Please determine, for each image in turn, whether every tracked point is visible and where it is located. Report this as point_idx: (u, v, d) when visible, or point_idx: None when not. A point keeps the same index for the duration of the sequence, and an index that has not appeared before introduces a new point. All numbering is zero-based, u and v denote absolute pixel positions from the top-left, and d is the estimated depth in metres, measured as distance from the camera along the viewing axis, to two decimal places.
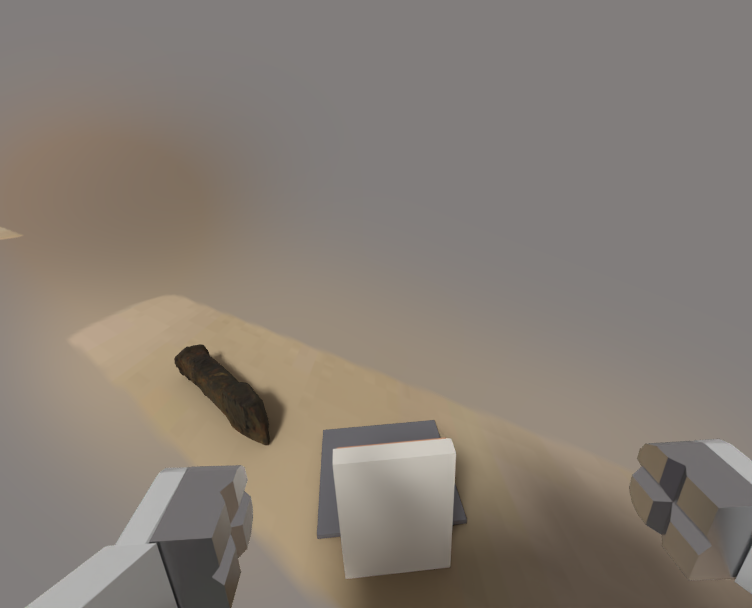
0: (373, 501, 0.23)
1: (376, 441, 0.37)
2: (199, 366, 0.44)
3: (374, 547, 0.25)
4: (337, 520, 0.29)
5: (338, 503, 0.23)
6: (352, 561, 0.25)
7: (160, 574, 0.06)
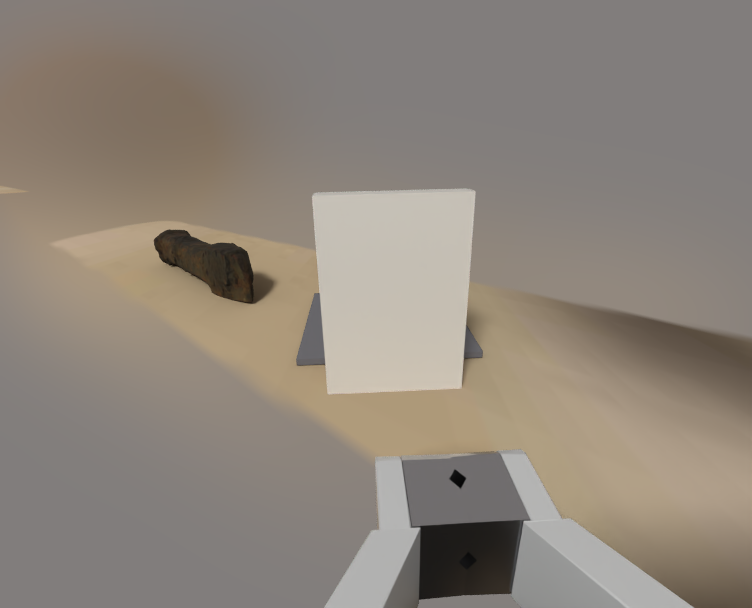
0: (365, 265, 0.18)
1: None
2: (180, 240, 0.40)
3: (365, 345, 0.19)
4: (322, 349, 0.24)
5: (319, 264, 0.18)
6: (337, 365, 0.20)
7: (419, 558, 0.06)
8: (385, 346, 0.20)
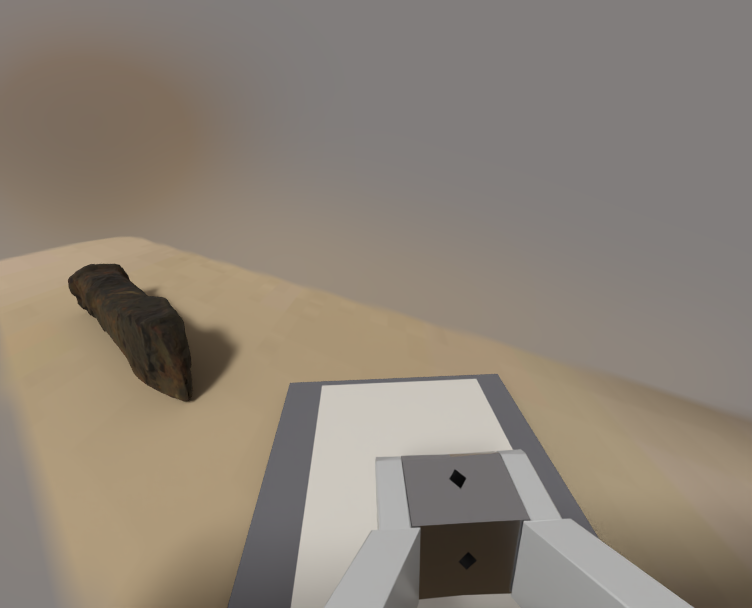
0: (372, 430, 0.15)
1: None
2: (99, 284, 0.27)
3: (374, 527, 0.11)
4: (287, 574, 0.11)
5: (318, 430, 0.15)
6: (318, 569, 0.10)
7: (419, 558, 0.06)
8: None
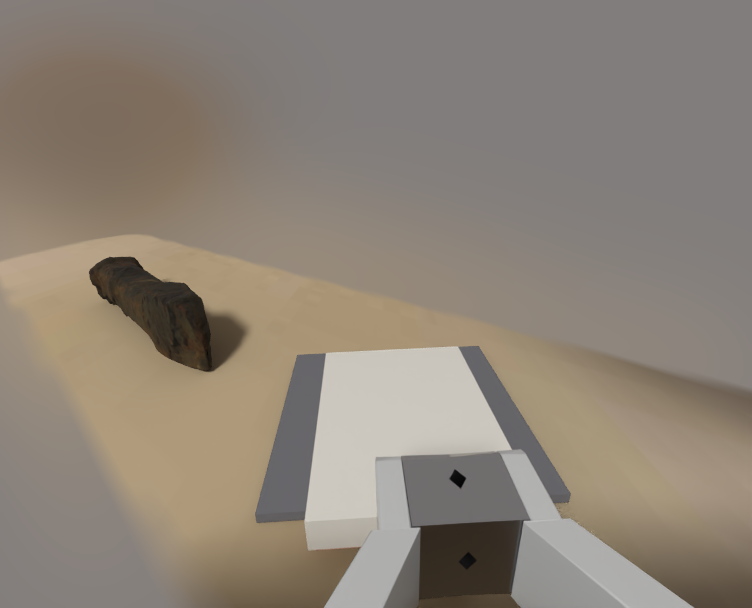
0: (369, 384, 0.18)
1: None
2: (120, 274, 0.30)
3: (370, 448, 0.14)
4: (302, 488, 0.14)
5: (323, 385, 0.18)
6: (328, 475, 0.13)
7: (419, 558, 0.06)
8: (398, 449, 0.14)
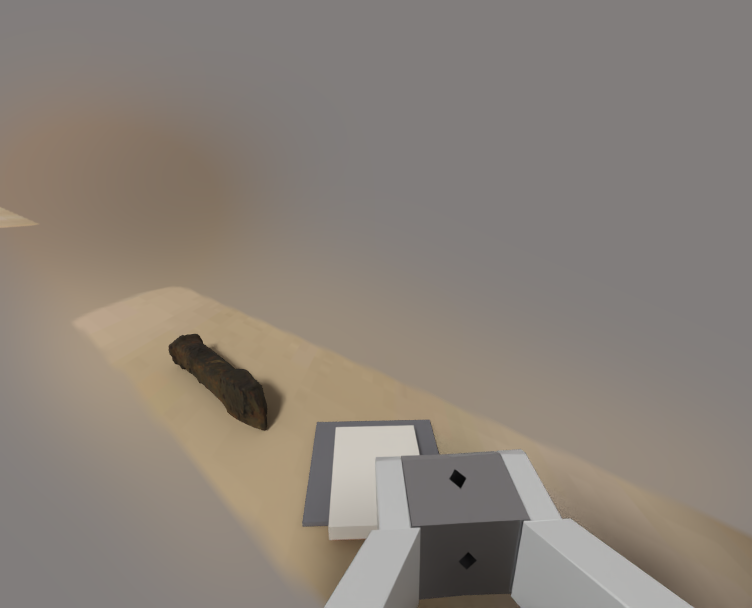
0: (360, 451, 0.32)
1: None
2: (195, 354, 0.44)
3: (358, 491, 0.29)
4: (324, 509, 0.29)
5: (335, 451, 0.32)
6: (338, 505, 0.28)
7: (419, 558, 0.06)
8: (372, 492, 0.29)
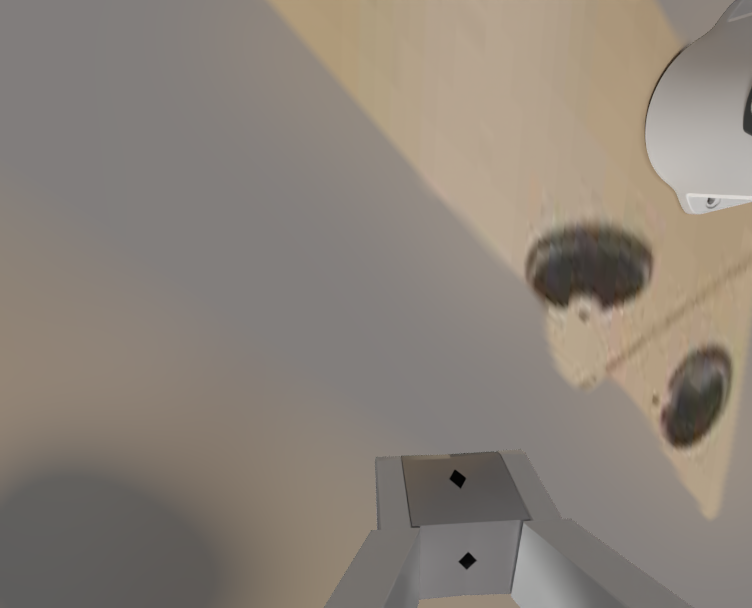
0: None
1: None
2: None
3: None
4: None
5: None
6: None
7: (419, 558, 0.06)
8: None
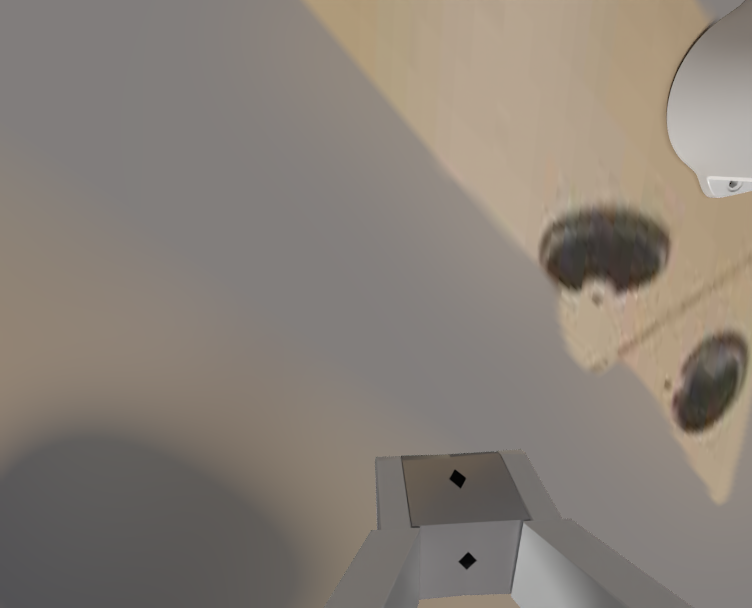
0: None
1: None
2: None
3: None
4: None
5: None
6: None
7: (419, 558, 0.06)
8: None
